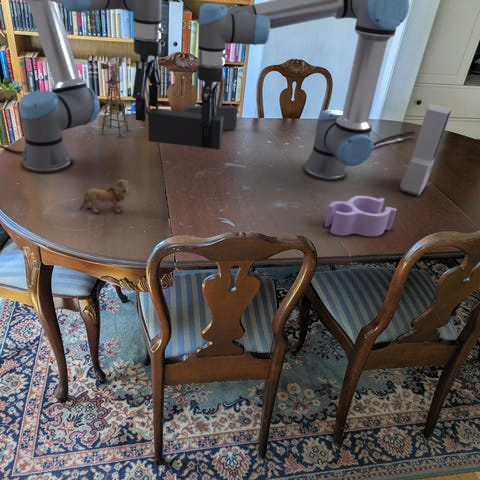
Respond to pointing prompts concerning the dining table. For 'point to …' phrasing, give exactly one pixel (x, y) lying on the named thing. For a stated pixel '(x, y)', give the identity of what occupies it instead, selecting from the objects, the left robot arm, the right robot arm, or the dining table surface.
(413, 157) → the electronic device
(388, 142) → the sword
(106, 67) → the miniature windmill
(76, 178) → the dining table surface
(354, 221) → the clip
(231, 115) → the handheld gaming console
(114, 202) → the lion figurine
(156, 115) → the bar
